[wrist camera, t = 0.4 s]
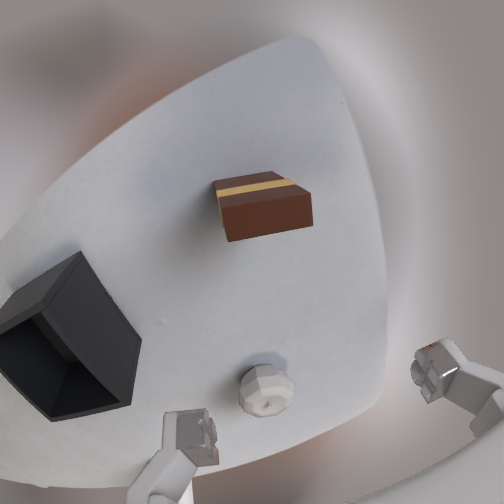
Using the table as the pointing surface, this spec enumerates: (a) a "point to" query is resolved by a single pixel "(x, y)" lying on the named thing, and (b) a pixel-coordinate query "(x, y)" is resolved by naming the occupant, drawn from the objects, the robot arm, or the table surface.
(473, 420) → the robot arm
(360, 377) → the table surface
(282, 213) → the chocolate bar
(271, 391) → the apple
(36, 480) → the table surface
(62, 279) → the waste bin
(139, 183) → the table surface
